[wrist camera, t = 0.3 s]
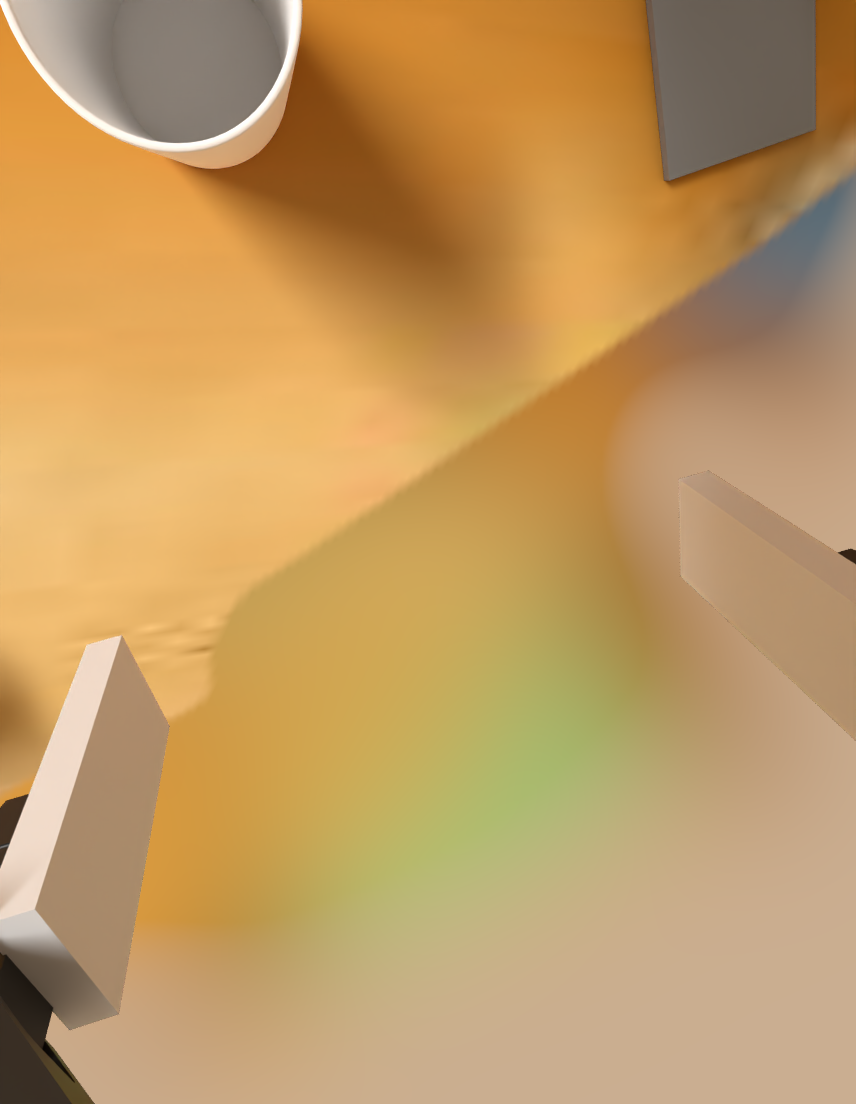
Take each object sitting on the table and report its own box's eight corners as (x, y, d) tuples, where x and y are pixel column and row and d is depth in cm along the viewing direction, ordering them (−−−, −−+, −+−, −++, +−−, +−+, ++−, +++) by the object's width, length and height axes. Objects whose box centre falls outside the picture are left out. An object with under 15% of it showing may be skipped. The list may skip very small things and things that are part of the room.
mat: (644, -13, 35) (650, -16, 35) (806, -68, 35) (814, -71, 35) (664, 180, 40) (669, 180, 39) (808, 130, 40) (815, 129, 39)
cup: (315, 31, 33) (350, -86, 19) (250, 201, 36) (240, 206, 22) (140, -85, 30) (32, -324, 16) (83, 109, 33) (-52, 49, 19)
